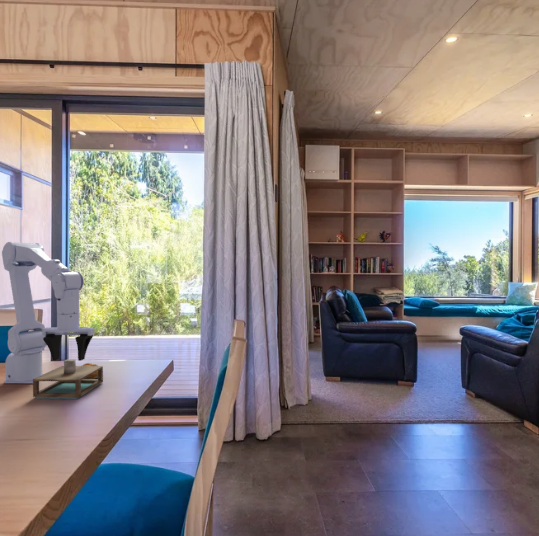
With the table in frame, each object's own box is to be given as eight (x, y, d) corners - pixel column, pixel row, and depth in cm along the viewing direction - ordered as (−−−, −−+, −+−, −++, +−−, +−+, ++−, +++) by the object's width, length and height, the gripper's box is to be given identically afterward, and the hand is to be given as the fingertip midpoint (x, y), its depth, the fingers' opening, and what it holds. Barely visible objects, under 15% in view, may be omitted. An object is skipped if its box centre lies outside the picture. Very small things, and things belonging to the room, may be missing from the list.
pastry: (107, 377, 119) (107, 365, 119) (86, 382, 114) (85, 370, 114) (95, 371, 125) (94, 360, 125) (74, 376, 120) (74, 365, 120)
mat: (35, 398, 100) (35, 396, 100) (61, 383, 112) (61, 382, 112) (77, 398, 99) (77, 397, 99) (99, 384, 111) (99, 382, 111)
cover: (33, 396, 100) (32, 366, 100) (62, 381, 113) (61, 354, 113) (78, 397, 99) (78, 366, 99) (102, 381, 112) (102, 354, 112)
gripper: (34, 315, 102) (35, 363, 102) (84, 315, 101) (85, 363, 101) (50, 311, 109) (51, 356, 109) (98, 311, 108) (98, 357, 108)
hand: (68, 359), depth 106 cm, fingers open, 7 cm apart
